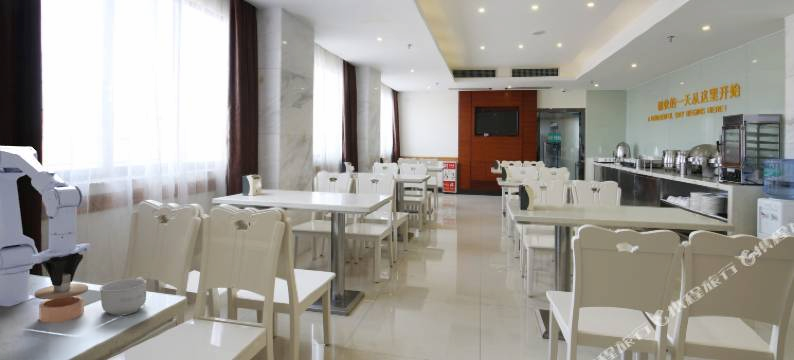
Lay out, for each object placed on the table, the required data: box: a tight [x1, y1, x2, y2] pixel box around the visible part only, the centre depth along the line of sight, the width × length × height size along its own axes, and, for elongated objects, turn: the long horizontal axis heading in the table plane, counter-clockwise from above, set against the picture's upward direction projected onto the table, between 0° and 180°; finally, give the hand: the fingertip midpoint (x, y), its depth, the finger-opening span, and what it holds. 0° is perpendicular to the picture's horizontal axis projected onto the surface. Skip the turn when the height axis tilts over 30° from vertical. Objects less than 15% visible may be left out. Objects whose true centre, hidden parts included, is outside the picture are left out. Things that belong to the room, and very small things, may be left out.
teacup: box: [99, 276, 148, 316], centre depth 117 cm, size 14×11×8 cm
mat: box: [39, 288, 101, 307], centre depth 123 cm, size 13×13×1 cm
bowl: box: [38, 296, 85, 323], centre depth 110 cm, size 9×9×4 cm
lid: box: [34, 273, 89, 300], centre depth 110 cm, size 11×11×5 cm
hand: (62, 283), depth 110 cm, fingers closed on lid, 2 cm apart
